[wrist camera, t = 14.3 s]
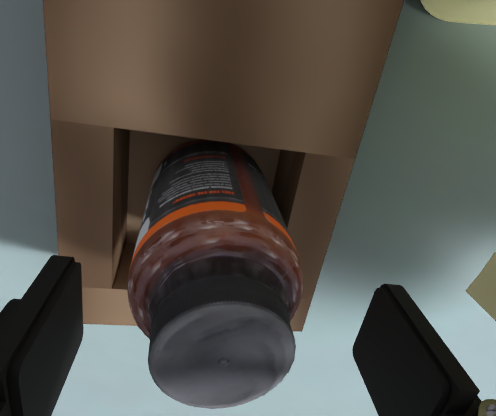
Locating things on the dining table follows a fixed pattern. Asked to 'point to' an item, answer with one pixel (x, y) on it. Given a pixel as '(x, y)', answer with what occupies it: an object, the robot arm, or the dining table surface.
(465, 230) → the dining table surface
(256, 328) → the supplement bottle
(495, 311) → the slatted curved stool
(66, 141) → the socket block
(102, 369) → the dining table surface
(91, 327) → the dining table surface
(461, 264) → the dining table surface
